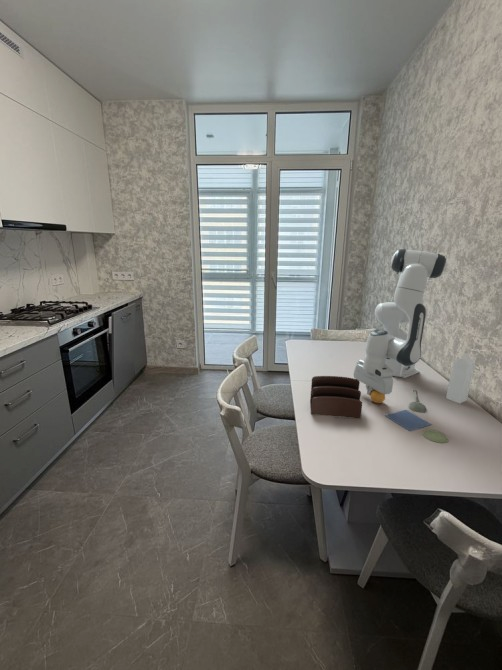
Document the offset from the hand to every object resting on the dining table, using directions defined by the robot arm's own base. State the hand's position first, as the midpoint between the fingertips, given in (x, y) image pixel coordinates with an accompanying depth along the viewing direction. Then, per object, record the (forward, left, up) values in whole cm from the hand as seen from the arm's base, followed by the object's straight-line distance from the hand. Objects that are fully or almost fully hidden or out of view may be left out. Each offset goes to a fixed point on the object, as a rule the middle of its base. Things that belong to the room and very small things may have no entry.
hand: (369, 394), depth 140 cm
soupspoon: (-18, +10, -3) cm, 21 cm away
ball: (-1, +4, +1) cm, 4 cm away
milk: (-37, +16, -2) cm, 40 cm away
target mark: (-1, +20, -2) cm, 20 cm away
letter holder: (+22, +2, -3) cm, 22 cm away
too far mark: (-1, +32, -2) cm, 32 cm away
